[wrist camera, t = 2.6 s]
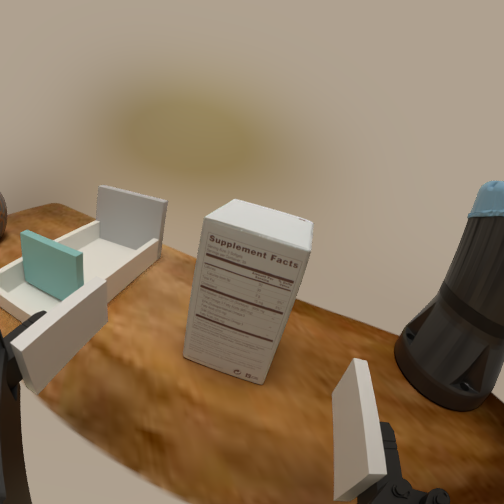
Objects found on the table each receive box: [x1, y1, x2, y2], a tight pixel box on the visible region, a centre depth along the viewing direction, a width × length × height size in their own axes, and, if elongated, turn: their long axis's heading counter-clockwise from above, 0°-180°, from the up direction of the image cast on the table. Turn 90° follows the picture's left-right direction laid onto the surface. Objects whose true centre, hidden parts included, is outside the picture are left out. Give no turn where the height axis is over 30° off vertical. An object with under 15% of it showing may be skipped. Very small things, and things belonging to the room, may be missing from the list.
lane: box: [0, 185, 168, 323], centre depth 28 cm, size 21×11×8 cm, turn 170°
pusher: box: [20, 230, 84, 301], centre depth 23 cm, size 1×8×6 cm, turn 80°
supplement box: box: [183, 199, 314, 385], centre depth 24 cm, size 7×7×13 cm
